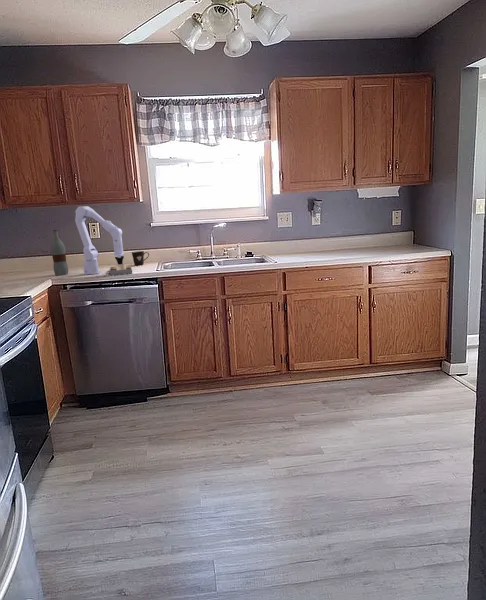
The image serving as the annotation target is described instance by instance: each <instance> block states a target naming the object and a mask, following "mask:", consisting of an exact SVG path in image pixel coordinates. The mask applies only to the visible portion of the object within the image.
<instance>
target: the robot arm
mask: <svg viewBox="0 0 486 600" xmlns="http://www.w3.org/2000/svg"><path fill="white" fill-rule="evenodd" d="M87 218H92V219H94V220H95V221H96V222H98V223H99V224H100V225H101V226H102V227H101V228H103V229H104V230H105V231H107V232H108V233H109V234H110V236H111V237H112V243H113V252H114V253H113V255H114V256H115V257H114V259H115V261H116V264H124V263H123V262H124V261H123V260H124V258H125V256H124V255H126V253H125V252H124V247H123V246H124V245H123V238H122V237H123V236H122V235H123V233H124V232H123V230H122V229H121V228H120V227H118V226H117V225H115V224H113V223H112V221H111V220H105V219H104V218H103V217H102V216H101V215H100V214H99V213H97V212H96V210H95V209H94V208H91V207H90V206H88V205H86V206H83V205H82V206H81V205H80V206H78V207H76V209H75V217H74V222H75V225H76V228H77V230H78V234H79V237H80V239H81V242H82V245H83V249H82V252H83V257H84V259H85V260H83V261H82V265H83V273H84V275H85V276H86V275H97V274H100V272H101V271H100V270H99V262H98V257H99V252H98V250H97V249H96V247H95V245H93V243H92V241H91V237H90V234H89V231H88V228H87V226H86V223H85V221H86V219H87Z"/></svg>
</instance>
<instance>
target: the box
mask: <svg viewBox="0 0 486 600" xmlns="http://www.w3.org/2000/svg"><path fill="white" fill-rule="evenodd" d="M132 268H133V267H132V266H131V269H124V270H113V271H111V269H110V268H109V276H119V275H120V276H121V275H131V274H133V269H132Z"/></svg>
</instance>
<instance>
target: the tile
mask: <svg viewBox="0 0 486 600" xmlns="http://www.w3.org/2000/svg"><path fill="white" fill-rule="evenodd" d="M115 266H116V269H117V270H124V269H126V266H127V264H126V263H123V264H118V263H116V264H115Z"/></svg>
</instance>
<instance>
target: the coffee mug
mask: <svg viewBox="0 0 486 600" xmlns="http://www.w3.org/2000/svg"><path fill="white" fill-rule="evenodd" d="M145 254H147V255H148V256H146V258H144V256H145ZM131 256H132V260H133V265H134V266H135V267H137V266H144V261H147V259H148V258H149V256H150V254H149V252H147V251H145V252H144V250H132V251H131Z"/></svg>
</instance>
